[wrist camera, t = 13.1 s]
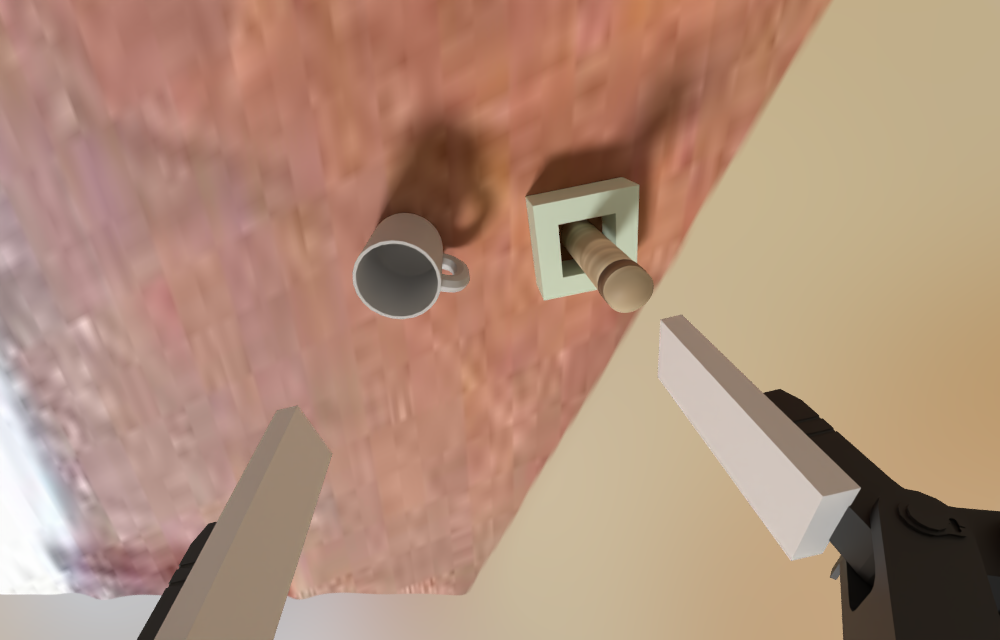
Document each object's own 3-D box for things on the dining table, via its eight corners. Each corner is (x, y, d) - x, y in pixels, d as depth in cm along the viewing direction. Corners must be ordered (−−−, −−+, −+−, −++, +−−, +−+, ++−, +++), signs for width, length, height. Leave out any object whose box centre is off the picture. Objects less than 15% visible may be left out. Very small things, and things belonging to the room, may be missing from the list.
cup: (377, 202, 36) (356, 230, 28) (476, 228, 38) (482, 259, 31) (368, 269, 39) (348, 310, 32) (460, 289, 42) (462, 331, 34)
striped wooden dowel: (558, 221, 39) (605, 274, 27) (592, 213, 39) (655, 264, 27) (561, 253, 41) (606, 317, 29) (594, 246, 41) (653, 307, 29)
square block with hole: (525, 196, 37) (532, 206, 34) (622, 176, 37) (639, 184, 34) (536, 284, 42) (544, 300, 39) (621, 267, 42) (636, 281, 39)
